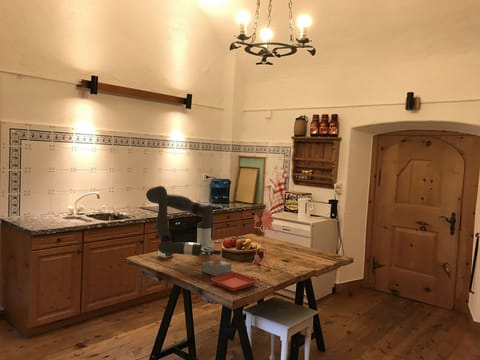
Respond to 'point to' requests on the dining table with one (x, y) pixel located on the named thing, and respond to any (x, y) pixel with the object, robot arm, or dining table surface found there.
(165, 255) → the medicine bottle
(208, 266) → the grey lidded square box
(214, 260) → the jar
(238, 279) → the plant saucer
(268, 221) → the figurine
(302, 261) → the dining table surface
